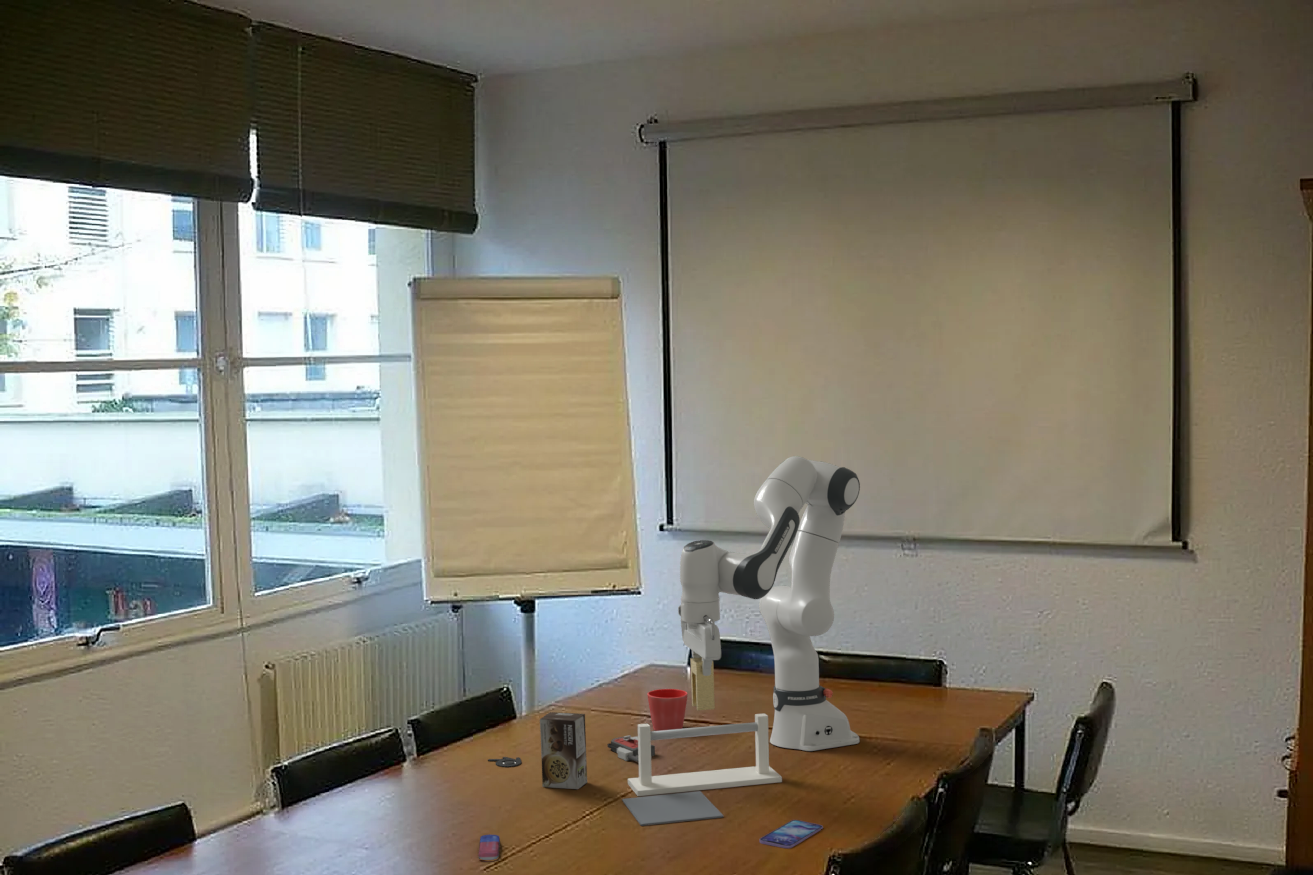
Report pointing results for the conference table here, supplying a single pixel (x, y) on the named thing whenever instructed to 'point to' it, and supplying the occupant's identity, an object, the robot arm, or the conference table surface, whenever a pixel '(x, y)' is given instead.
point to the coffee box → (563, 750)
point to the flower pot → (667, 708)
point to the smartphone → (790, 834)
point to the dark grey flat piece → (507, 762)
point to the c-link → (702, 686)
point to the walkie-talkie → (627, 747)
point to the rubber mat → (671, 808)
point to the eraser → (489, 847)
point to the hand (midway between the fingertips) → (702, 672)
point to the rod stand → (703, 779)
